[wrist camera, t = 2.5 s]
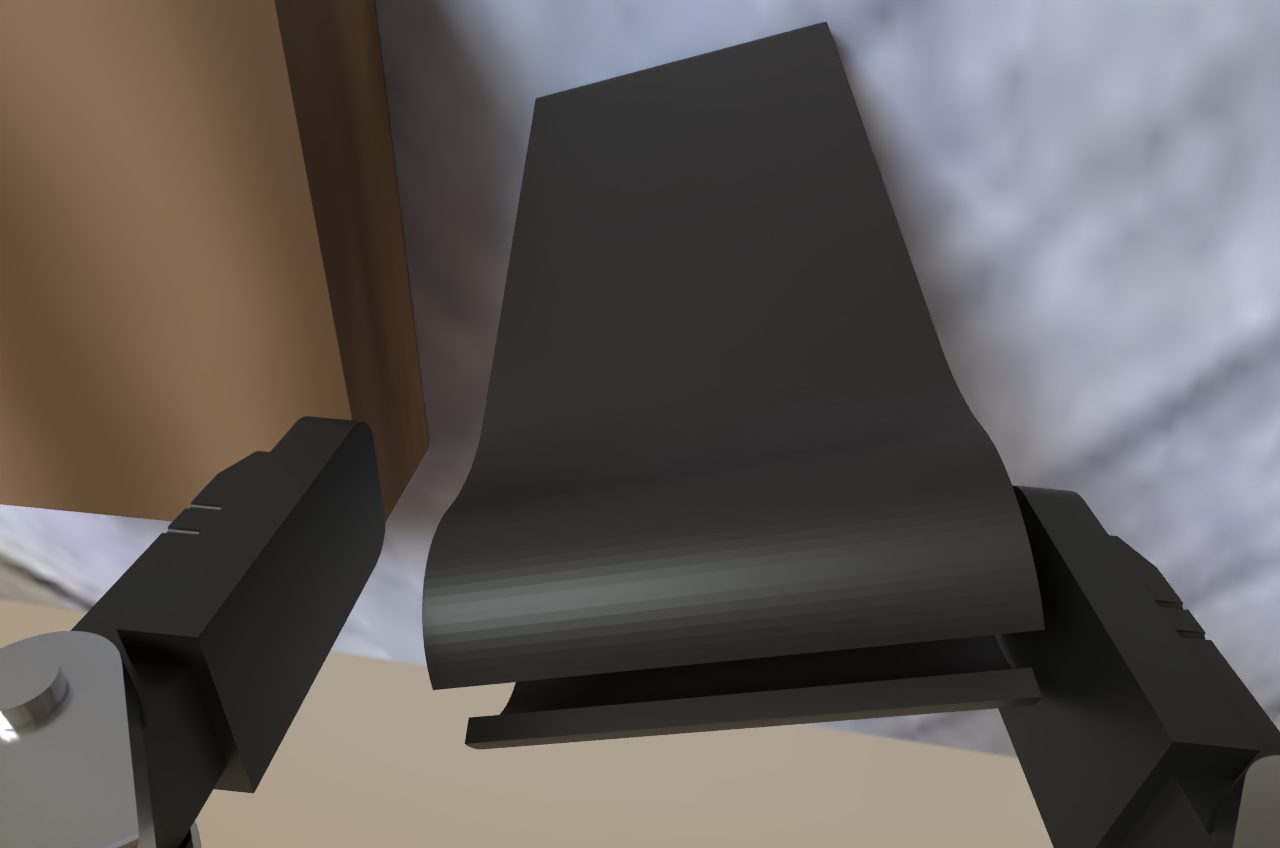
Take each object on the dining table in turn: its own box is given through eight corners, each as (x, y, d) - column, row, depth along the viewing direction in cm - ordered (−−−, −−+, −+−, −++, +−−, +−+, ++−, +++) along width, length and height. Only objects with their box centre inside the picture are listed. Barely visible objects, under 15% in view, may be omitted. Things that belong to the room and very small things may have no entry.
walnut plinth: (359, -124, 14) (246, -146, 11) (428, 446, 21) (374, 541, 18) (-293, -163, 15) (-598, -197, 11) (-13, 405, 22) (-147, 489, 18)
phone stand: (865, 405, 19) (1031, 910, 9) (639, 440, 20) (566, 922, 10) (826, 19, 15) (1075, 174, 5) (539, 93, 16) (230, 348, 6)
